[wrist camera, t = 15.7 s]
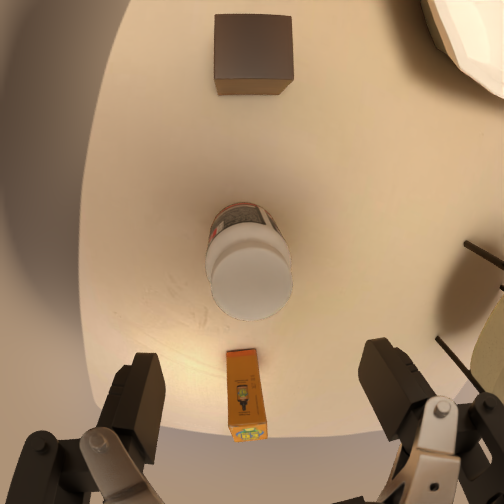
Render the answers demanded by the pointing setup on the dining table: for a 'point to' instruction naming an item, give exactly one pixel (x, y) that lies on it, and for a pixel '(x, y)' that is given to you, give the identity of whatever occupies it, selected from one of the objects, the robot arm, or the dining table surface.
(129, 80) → the dining table surface
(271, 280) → the pill bottle
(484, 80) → the bowl
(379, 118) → the dining table surface
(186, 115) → the dining table surface
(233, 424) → the supplement box
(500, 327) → the planter
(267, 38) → the walnut block
